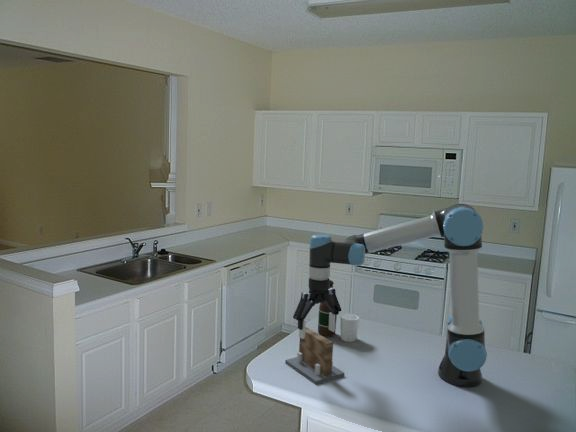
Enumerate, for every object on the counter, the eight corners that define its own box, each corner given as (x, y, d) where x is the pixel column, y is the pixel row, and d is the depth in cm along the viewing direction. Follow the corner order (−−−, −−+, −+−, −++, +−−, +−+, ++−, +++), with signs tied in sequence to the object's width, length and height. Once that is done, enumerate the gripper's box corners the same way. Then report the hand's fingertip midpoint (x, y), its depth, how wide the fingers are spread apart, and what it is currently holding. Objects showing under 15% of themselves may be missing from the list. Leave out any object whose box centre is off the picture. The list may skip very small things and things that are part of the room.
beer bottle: (316, 335, 213) (319, 282, 210) (319, 329, 221) (322, 277, 217) (333, 338, 212) (337, 284, 208) (336, 331, 219) (339, 279, 215)
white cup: (343, 343, 207) (344, 320, 205) (336, 335, 214) (337, 314, 213) (360, 341, 209) (362, 319, 207) (353, 334, 216) (354, 313, 215)
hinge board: (344, 375, 177) (345, 363, 177) (315, 384, 170) (316, 371, 169) (312, 355, 193) (313, 344, 192) (285, 362, 186) (285, 351, 185)
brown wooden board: (331, 374, 176) (333, 342, 174) (322, 376, 174) (324, 344, 172) (305, 357, 189) (306, 327, 187) (297, 359, 187) (298, 329, 185)
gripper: (339, 271, 186) (336, 324, 189) (284, 279, 173) (282, 337, 176) (352, 275, 180) (349, 330, 183) (296, 284, 166) (294, 344, 169)
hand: (317, 334), depth 179 cm, fingers open, 13 cm apart
